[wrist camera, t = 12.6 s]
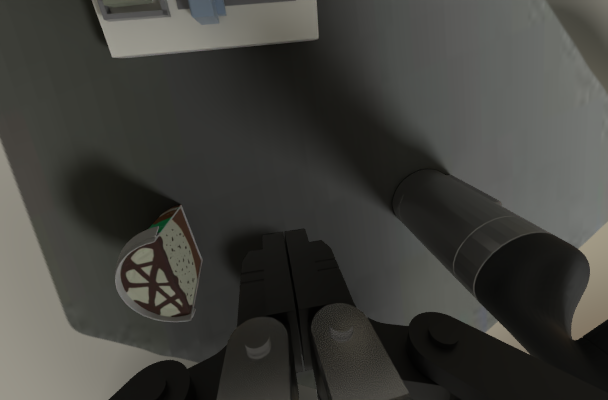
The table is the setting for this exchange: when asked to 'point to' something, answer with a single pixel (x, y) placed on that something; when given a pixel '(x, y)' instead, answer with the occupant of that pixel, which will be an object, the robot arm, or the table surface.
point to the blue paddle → (207, 10)
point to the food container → (161, 269)
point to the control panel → (204, 26)
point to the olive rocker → (124, 2)
